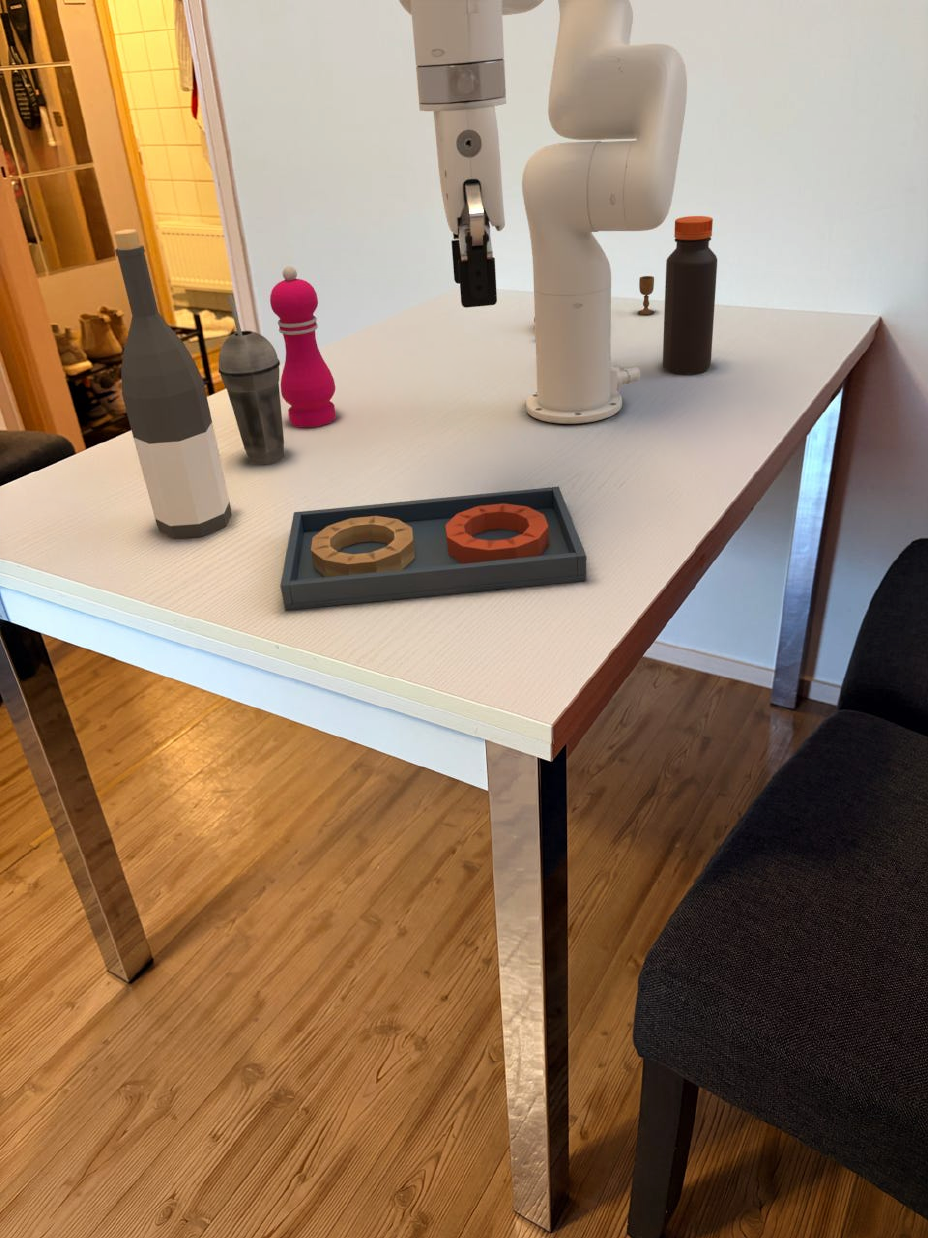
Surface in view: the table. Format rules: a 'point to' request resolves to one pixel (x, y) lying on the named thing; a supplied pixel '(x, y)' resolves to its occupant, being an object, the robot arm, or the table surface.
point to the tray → (431, 552)
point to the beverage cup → (253, 392)
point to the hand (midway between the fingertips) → (474, 292)
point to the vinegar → (690, 298)
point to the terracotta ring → (492, 519)
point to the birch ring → (358, 532)
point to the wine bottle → (168, 411)
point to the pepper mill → (302, 353)
